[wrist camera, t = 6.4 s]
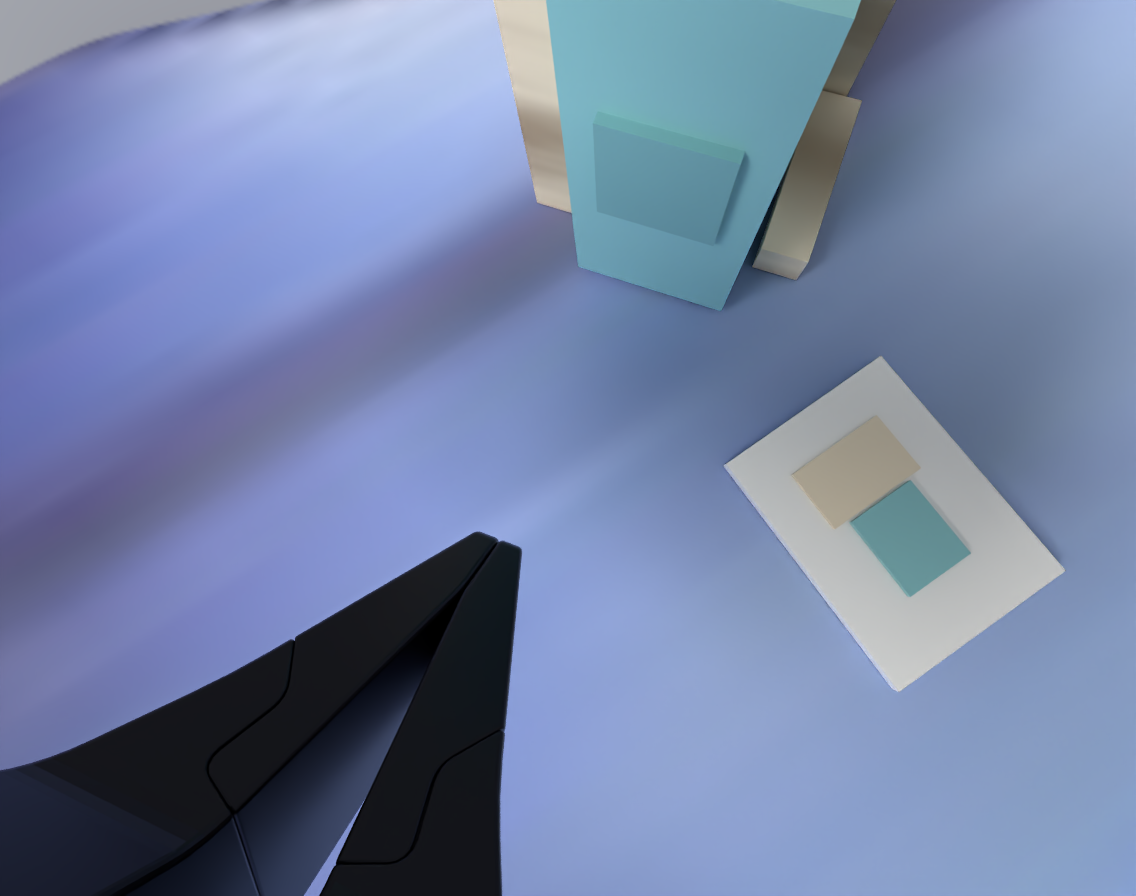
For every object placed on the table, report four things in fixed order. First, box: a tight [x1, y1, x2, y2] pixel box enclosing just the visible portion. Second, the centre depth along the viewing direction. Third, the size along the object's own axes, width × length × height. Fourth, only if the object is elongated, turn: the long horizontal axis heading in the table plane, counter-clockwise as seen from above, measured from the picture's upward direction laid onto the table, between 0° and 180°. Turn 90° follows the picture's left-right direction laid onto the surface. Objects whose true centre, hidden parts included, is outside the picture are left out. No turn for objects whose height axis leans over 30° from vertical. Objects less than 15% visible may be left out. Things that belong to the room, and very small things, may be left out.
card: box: [724, 356, 1066, 692], centre depth 17 cm, size 8×6×1 cm
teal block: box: [546, 0, 861, 311], centre depth 14 cm, size 8×5×10 cm, turn 159°
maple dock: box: [494, 0, 896, 280], centre depth 15 cm, size 8×9×10 cm
